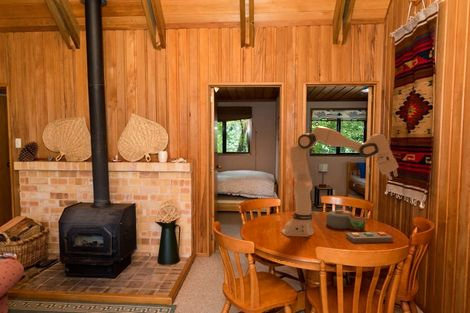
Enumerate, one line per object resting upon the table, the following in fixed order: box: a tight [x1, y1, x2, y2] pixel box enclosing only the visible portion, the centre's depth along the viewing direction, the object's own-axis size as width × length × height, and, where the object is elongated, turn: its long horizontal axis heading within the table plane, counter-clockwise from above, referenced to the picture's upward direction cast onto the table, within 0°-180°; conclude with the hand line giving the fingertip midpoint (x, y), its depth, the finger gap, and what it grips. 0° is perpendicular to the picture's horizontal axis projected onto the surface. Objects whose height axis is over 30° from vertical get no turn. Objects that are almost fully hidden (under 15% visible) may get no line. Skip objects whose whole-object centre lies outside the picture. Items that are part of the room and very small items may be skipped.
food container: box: [349, 216, 368, 232], centre depth 216 cm, size 12×6×10 cm, turn 68°
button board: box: [345, 231, 394, 244], centre depth 196 cm, size 26×12×3 cm, turn 92°
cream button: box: [350, 232, 360, 236], centre depth 196 cm, size 4×4×2 cm
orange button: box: [376, 231, 387, 236], centre depth 197 cm, size 4×4×2 cm
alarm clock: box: [325, 209, 354, 230], centre depth 230 cm, size 19×20×12 cm
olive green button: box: [363, 231, 373, 236], centre depth 196 cm, size 4×4×2 cm
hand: (393, 178), depth 188 cm, fingers open, 8 cm apart
